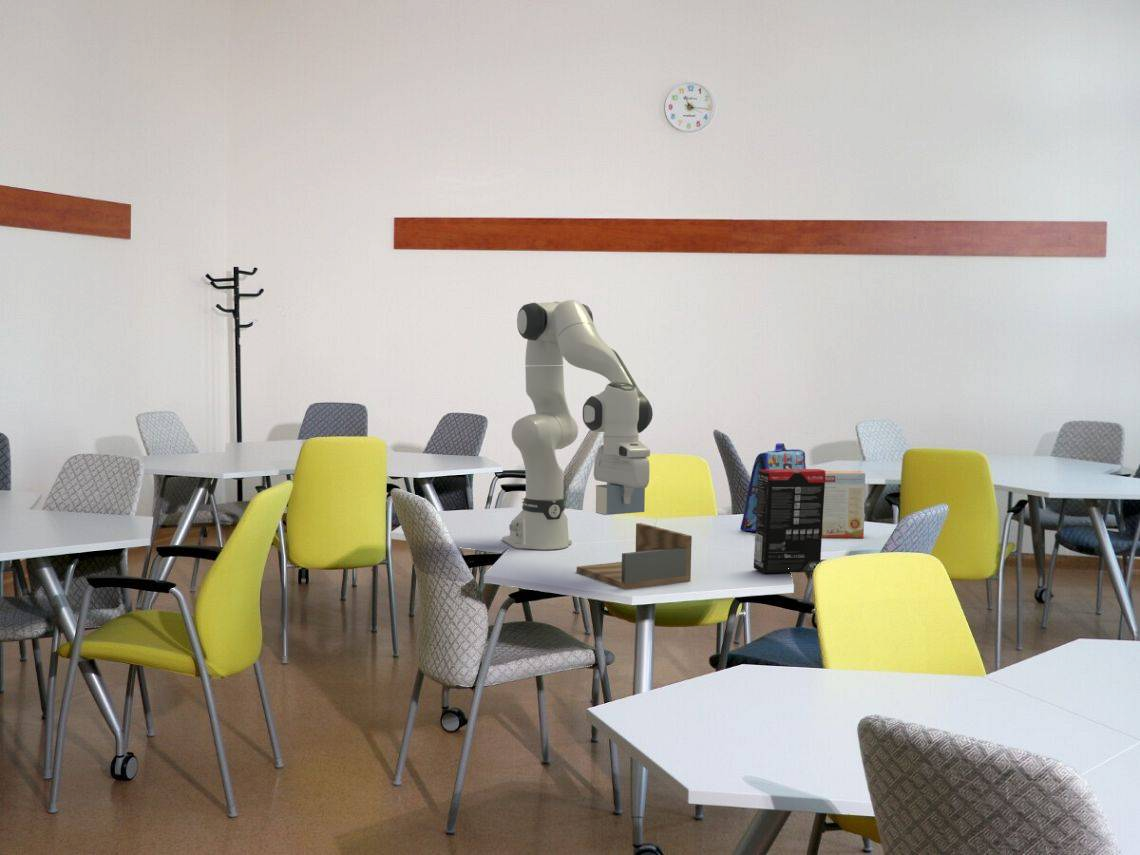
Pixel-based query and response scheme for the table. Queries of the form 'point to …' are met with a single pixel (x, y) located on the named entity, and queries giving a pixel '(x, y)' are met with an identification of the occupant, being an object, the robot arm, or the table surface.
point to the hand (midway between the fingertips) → (619, 502)
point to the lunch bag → (768, 461)
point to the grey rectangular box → (618, 500)
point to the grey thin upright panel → (653, 564)
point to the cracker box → (843, 504)
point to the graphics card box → (789, 520)
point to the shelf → (645, 541)
